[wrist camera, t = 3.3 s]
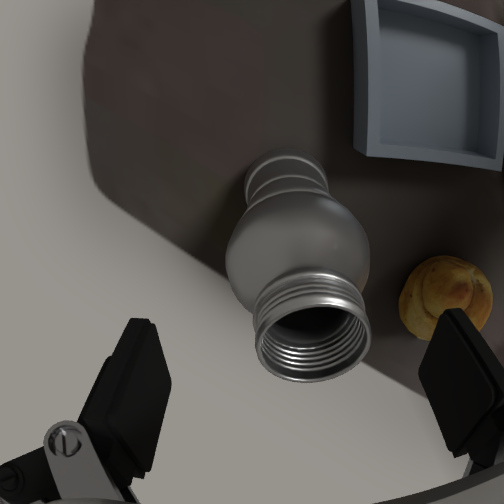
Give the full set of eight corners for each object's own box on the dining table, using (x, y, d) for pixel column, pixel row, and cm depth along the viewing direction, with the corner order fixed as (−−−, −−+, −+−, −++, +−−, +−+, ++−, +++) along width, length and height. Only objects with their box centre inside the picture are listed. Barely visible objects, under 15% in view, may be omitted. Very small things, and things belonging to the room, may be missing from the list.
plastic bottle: (323, 212, 28) (395, 394, 11) (248, 216, 29) (223, 408, 11) (321, 141, 25) (436, 247, 8) (241, 146, 26) (187, 263, 8)
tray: (350, -3, 19) (362, -17, 16) (480, 30, 18) (504, 26, 15) (352, 147, 26) (366, 156, 22) (478, 161, 25) (501, 171, 21)
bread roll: (492, 266, 30) (527, 304, 23) (452, 328, 35) (477, 370, 28) (420, 233, 29) (457, 274, 22) (377, 308, 33) (399, 358, 26)
